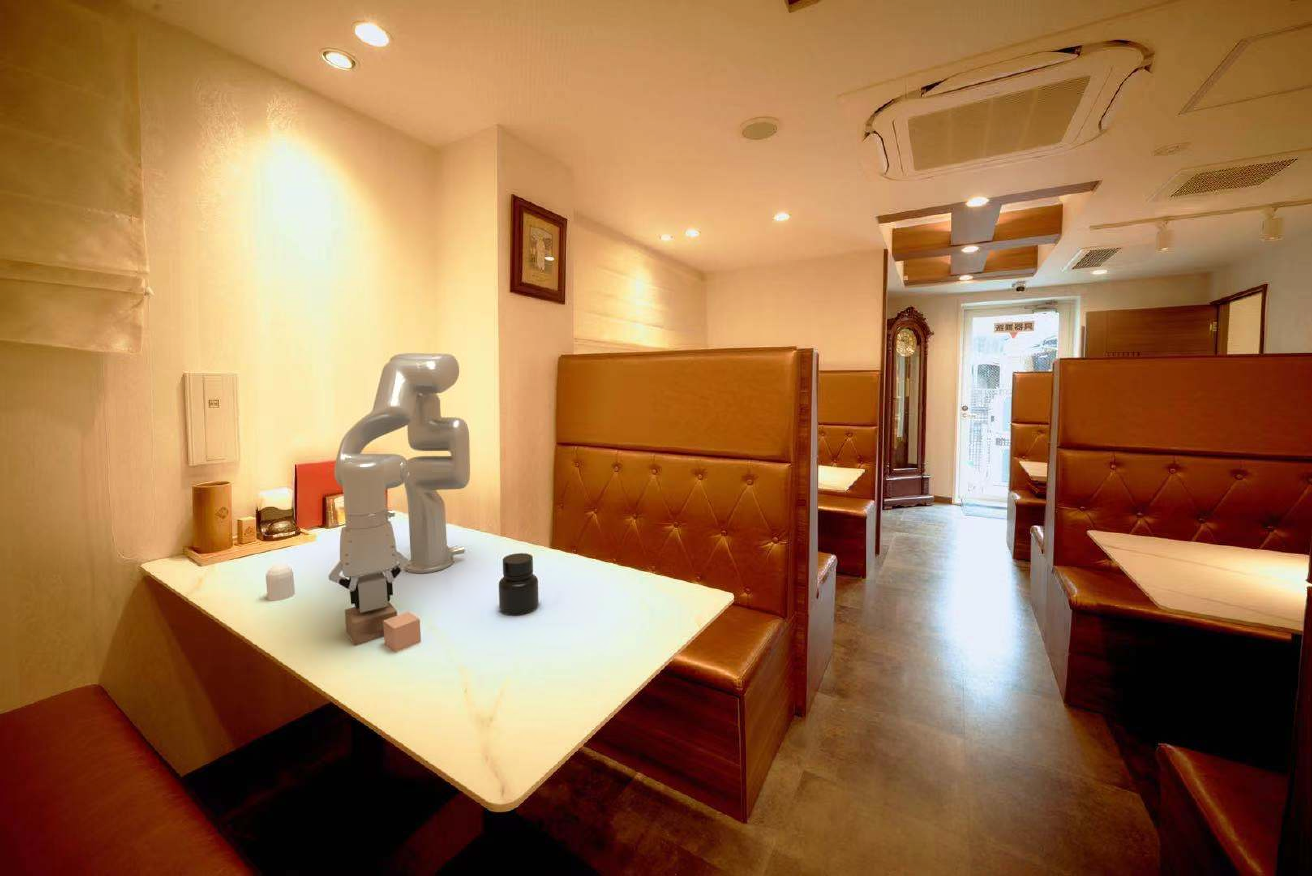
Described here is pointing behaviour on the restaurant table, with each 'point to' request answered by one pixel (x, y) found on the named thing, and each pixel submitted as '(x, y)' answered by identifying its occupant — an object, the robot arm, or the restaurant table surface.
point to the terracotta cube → (401, 631)
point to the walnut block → (367, 623)
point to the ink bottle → (518, 585)
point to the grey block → (372, 591)
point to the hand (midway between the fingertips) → (372, 601)
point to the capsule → (280, 582)
